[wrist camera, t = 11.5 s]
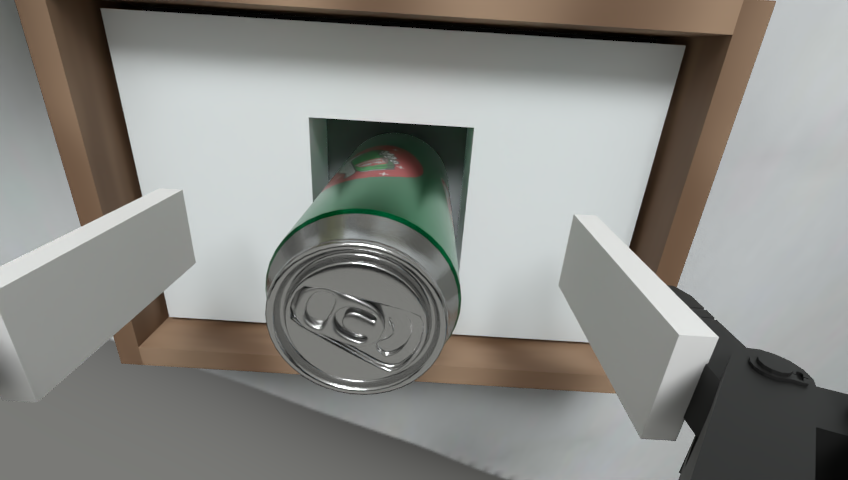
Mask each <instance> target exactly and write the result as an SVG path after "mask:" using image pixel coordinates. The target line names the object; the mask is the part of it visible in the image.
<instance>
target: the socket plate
mask: <svg viewBox="0 0 848 480" xmlns="http://www.w3.org/2000/svg"><path fill="white" fill-rule="evenodd" d="M100 9H101V14H102V18H103V23H104V27H105V32H106V36H107V41H108V45H109V50H110V54H111V58H112V63H113V67H114V72H115V76H116V81H117V85H118V90H119V94H120V99H121V103H122V108H123V112H124V117H125V121H126V126H127V130H128V135H129V139H130V143H131V148H132V152H133V157H134V161H135V166H136V170H137V175H138V179H139V184H140V188H141V193H142V197H143V196H145V195H147V194H149V193H151V192H153V191H155V190H157V189H159V188H164V189H180V190H183V195H184V201H185V206H186V212H187V217H188V223H189V228H190V234H191V239H192V245H193V250H194V256H195V261H196V263H195V264H194V265H193V266H192V267H191V268H190V269H189V270H187V271H186V272H185V273H184V274H183V275H182V276H181V277H179V278H178V279H177V280H176V281H175V282H174V283H173V284H172V285H170V286H169V287H168V288H167V289H166V290H165V291H164V296H165V300H166V304H167V309H168V313H169V317H179V318H196V319H212V320H229V321H245V322H261V323H266V316H265V310H266V291H265V285H266V274H267V270H268V266H269V262H270V260H271V258H272V256H273V254H274V252H275V250H276V248H277V247H278V246H279V244H280V243H281V242H282V240H283V239H284V238H285V236H286V235H287V234H288V233H289V231H290V230H291V229H292V228H293V226H294V225H295V224H296V223H297V221H298V220H299V219H300V218H301V217H302V215H303V214H304V213H305V212H306V210H307V209H308V208H309V207H310V205H311V204H312V203H313V202H314V200H315V199H316V198H317V197H318V195H319V194H320V193H321V192H322V190H323V189H324V188H325V187H326V186H327V184H328V183H329V175H328V146H327V118H329V119H345V120H360V121H376V122H392V123H408V124H424V125H440V126H456V127H468V128H467V139H466V149H465V159H464V169H463V179H462V190H461V200H460V210H459V220H458V230H457V240H456V253H457V261H458V270H459V279H460V288H461V308H460V314H459V318H458V321H457V325H456V327H455V329H454V331H453V333H452V334H458V335H474V336H491V337H507V338H524V339H540V340H556V341H573V342H588V340H587V338H586V336H585V334H584V332H583V330H582V329H581V327H580V325H579V323H578V321H577V319H576V317H575V316H574V314H573V312H572V310H571V308H570V306H569V304H568V302H567V301H566V299H565V297H564V295H563V293H562V291H561V289H560V288H559V286H558V285H559V280H560V275H561V271H562V266H563V261H564V257H565V252H566V248H567V243H568V238H569V234H570V229H571V224H572V220H573V215H574V214H581V215H596V216H598V217H599V218H600V219H601V220H602V221H603V222H604V223H605V224H606V225H607V226H608V227H609V228H610V229H611V230H612V231H613V232H614V233H615V234H616V235H617V236H618V237H619V238H620V239H621V240H622V241H623V242H624V243H625V244H626V245H627V246H628V247H629V246H630V242H631V239H632V235H633V231H634V228H635V224H636V221H637V217H638V214H639V210H640V207H641V203H642V200H643V196H644V193H645V189H646V185H647V182H648V178H649V175H650V171H651V168H652V164H653V161H654V157H655V154H656V150H657V147H658V143H659V139H660V136H661V132H662V129H663V125H664V122H665V118H666V115H667V111H668V108H669V104H670V101H671V97H672V93H673V90H674V86H675V83H676V79H677V76H678V72H679V69H680V65H681V62H682V58H683V55H684V51H685V47H686V46H685V45H670V44H654V43H638V42H623V41H607V40H592V39H576V38H560V37H545V36H529V35H514V34H498V33H482V32H467V31H451V30H435V29H420V28H404V27H389V26H373V25H357V24H342V23H326V22H311V21H295V20H279V19H264V18H248V17H232V16H217V15H201V14H186V13H170V12H154V11H139V10H123V9H107V8H100Z"/></svg>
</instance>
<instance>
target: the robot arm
mask: <svg viewBox="0 0 848 480" xmlns="http://www.w3.org/2000/svg"><path fill="white" fill-rule="evenodd" d="M195 263H196V261H195V256H194V250H193V245H192V239H191V234H190V228H189V223H188V217H187V212H186V206H185V201H184V195H183V190H180V189H164V188H159V189H157V190H155V191H153V192H151V193H149V194H147V195H145V196H143V197H141V198H139V199H137V200H135V201H133V202H131V203H129V204H126V205H124V206H122V207H120V208H118V209H116V210H114V211H112V212H110V213H108V214H106V215H104V216H102V217H100V218H98V219H96V220H94V221H92V222H90V223H88V224H86V225H84V226H82V227H80V228H78V229H76V230H74V231H71V232H69V233H67V234H65V235H63V236H61V237H59V238H57V239H55V240H53V241H51V242H49V243H47V244H45V245H43V246H41V247H39V248H37V249H35V250H33V251H31V252H29V253H27V254H25V255H23V256H21V257H18V258H16V259H14V260H12V261H10V262H8V263H6V264H4V265H2V266H0V397H1V399H2V400H6V401H22V402H39V401H40V400H41V399H42V398H43V397H44V396H45V395H46V394H47V393H49V392H50V391H51V390H52V389H53V388H54V387H55V386H57V385H58V384H59V383H60V382H61V381H62V380H63V379H65V378H66V377H67V376H68V375H69V374H70V373H71V372H73V371H74V370H75V369H76V368H77V367H78V366H79V365H80V364H82V363H83V362H84V361H85V360H86V359H87V358H89V356H91V355H92V354H93V353H94V352H95V351H96V350H97V349H98V348H100V347H101V346H102V345H103V344H104V343H105V342H107V341H108V340H109V339H110V338H111V337H112V336H114V335H115V334H116V333H117V332H118V331H119V330H120V329H121V328H123V327H124V326H125V325H126V324H127V323H128V322H129V321H131V320H132V319H133V318H134V317H135V316H136V315H137V314H139V313H140V312H141V311H142V310H143V309H144V308H145V307H147V306H148V305H149V304H150V303H151V302H152V301H153V300H154V299H156V298H157V297H158V296H159V295H160V294H161V293H162V292H164V291H165V290H166V289H167V288H168V287H169V286H170V285H172V284H173V283H174V282H175V281H176V280H177V279H178V278H179V277H181V276H182V275H183V274H184V273H185V272H186V271H187V270H189V269H190V268H191V267H192V266H193V265H194V264H195ZM558 286H559V288H560V289H561V291H562V293H563V295H564V297H565V299H566V301H567V302H568V304H569V306H570V308H571V310H572V312H573V314H574V316H575V317H576V319H577V321H578V323H579V325H580V327H581V329H582V330H583V332H584V334H585V336H586V338H587V340H588V342H589V343H590V345H591V347H592V349H593V351H594V353H595V355H596V356H597V358H598V360H599V362H600V364H601V366H602V368H603V369H604V371H605V373H606V375H607V377H608V379H609V381H610V382H611V384H612V386H613V388H614V390H615V392H616V394H617V396H618V397H619V399H620V401H621V403H622V405H623V407H624V409H625V410H626V412H627V414H628V416H629V418H630V420H631V422H632V423H633V425H634V427H635V429H636V431H637V433H638V435H639V436H640V438H641V439H653V440H670V441H676V439H677V437H678V434H679V432H680V429H681V427H682V425H683V422H684V420H685V421H686V422H687V423H688V425H689V426H690V428H691V429H692V431H693V432H694V434H695V437H694V440H693V442H692V444H691V447H690V449H689V451H688V453H687V456H686V458H685V460H684V462H683V465H682V467H681V469H680V471H679V473H681V474H680V477H679V480H848V394H844V393H840V392H836V391H832V390H828V389H824V388H820V387H816V385H815V382H814V380H813V379H812V378H811V377H810V376H809V375H808V374H807V373H806V372H805V371H804V370H803V369H801V368H800V367H798V366H797V365H795V364H794V363H792V362H791V361H789V360H786V359H784V358H782V357H780V356H778V355H775V354H772V353H769V352H766V351H763V350H759V349H751V348H746V347H745V346H744V345H743V344H742V343H741V342H740V341H739V340H737V339H736V338H735V337H734V336H733V335H732V334H731V333H730V332H729V331H728V330H727V329H726V328H725V327H724V326H723V325H722V324H720V323H719V322H718V321H717V320H714V317H713V316H712V315H711V314H710V313H709V312H708V311H707V310H704V308H703V307H702V306H701V305H700V304H699V303H698V302H697V301H696V300H695V299H694V298H693V297H692V296H690V295H689V294H687V293H685V292H683V291H682V290H680V289H678V288H676V287H675V286H671V285H666V284H665V283H664V282H663V281H662V280H661V279H660V278H659V277H658V276H657V275H656V274H655V273H654V272H653V271H652V270H651V269H650V268H649V267H648V266H647V265H646V264H645V263H644V262H643V261H642V260H641V259H640V258H639V257H638V256H637V255H636V254H635V253H634V252H633V251H632V250H631V249H630V248H629V247H628V246H627V245H626V244H625V243H624V242H623V241H622V240H621V239H620V238H619V237H618V236H617V235H616V234H615V233H614V232H613V231H612V230H611V229H610V228H609V227H608V226H607V225H606V224H605V223H604V222H603V221H602V220H601V219H600V218H599V217H598V216H596V215H581V214H574V215H573V220H572V224H571V229H570V234H569V238H568V243H567V248H566V252H565V257H564V261H563V266H562V271H561V275H560V280H559V285H558Z"/></svg>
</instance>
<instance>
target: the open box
mask: <svg viewBox="0 0 848 480" xmlns="http://www.w3.org/2000/svg"><path fill="white" fill-rule="evenodd" d="M15 3H16V7H17V10H18V14H19V17H20V20H21V24H22V27H23V31H24V34H25V37H26V41H27V44H28V48H29V51H30V54H31V58H32V61H33V65H34V68H35V71H36V75H37V78H38V82H39V85H40V88H41V92H42V95H43V99H44V102H45V105H46V109H47V112H48V116H49V119H50V122H51V126H52V129H53V133H54V136H55V139H56V143H57V146H58V150H59V153H60V156H61V160H62V163H63V167H64V170H65V173H66V177H67V180H68V184H69V187H70V190H71V194H72V197H73V201H74V204H75V207H76V211H77V214H78V218H79V221H80V224H81V227H82V226H84V225H86V224H88V223H90V222H92V221H94V220H96V219H98V218H100V217H102V216H104V215H106V214H108V213H110V212H112V211H114V210H116V209H118V208H120V207H122V206H124V205H126V204H129V203H131V202H133V201H135V200H137V199H139V198H141V197H142V193H141V188H140V184H139V179H138V175H137V170H136V166H135V161H134V157H133V152H132V148H131V143H130V139H129V135H128V130H127V126H126V121H125V117H124V112H123V108H122V103H121V99H120V94H119V90H118V85H117V81H116V76H115V72H114V67H113V63H112V58H111V54H110V50H109V45H108V41H107V36H106V32H105V27H104V23H103V18H102V14H101V9H100V8H107V9H123V10H139V11H143V7H157V8H172V9H188V10H204V11H219V12H235V13H250V14H266V15H282V16H297V17H313V18H329V19H344V20H360V21H375V22H391V23H407V24H422V25H438V26H453V27H469V28H485V29H500V30H516V31H531V32H547V33H563V34H578V35H594V36H609V37H625V38H641V39H656V40H657V41H656V44H670V45H685V46H686V47H685V51H684V55H683V58H682V62H681V65H680V69H679V72H678V76H677V79H676V83H675V86H674V90H673V93H672V97H671V101H670V104H669V108H668V111H667V115H666V118H665V122H664V125H663V129H662V132H661V136H660V139H659V143H658V147H657V150H656V154H655V157H654V161H653V164H652V168H651V171H650V175H649V178H648V182H647V185H646V189H645V193H644V196H643V200H642V203H641V207H640V210H639V214H638V217H637V221H636V224H635V228H634V231H633V235H632V239H631V242H630V246H629V248H630V249H631V250H632V251H633V252H634V253H635V254H636V255H637V256H638V257H639V258H640V259H641V260H642V261H643V262H644V263H645V264H646V265H647V266H648V267H649V268H650V269H651V270H652V271H653V272H654V273H655V274H656V275H657V276H658V277H659V278H660V279H661V280H662V281H663V282H664V283H665V284H666V285H671V286H675V287H677V285H678V282H679V279H680V276H681V273H682V270H683V267H684V264H685V262H686V259H687V256H688V253H689V250H690V247H691V244H692V241H693V239H694V236H695V233H696V230H697V227H698V224H699V221H700V219H701V216H702V213H703V210H704V207H705V204H706V201H707V198H708V196H709V193H710V190H711V187H712V184H713V181H714V178H715V175H716V173H717V170H718V167H719V164H720V161H721V158H722V155H723V152H724V150H725V147H726V144H727V141H728V138H729V135H730V132H731V129H732V127H733V124H734V121H735V118H736V115H737V112H738V109H739V106H740V104H741V101H742V98H743V95H744V92H745V89H746V86H747V83H748V81H749V78H750V75H751V72H752V69H753V66H754V63H755V61H756V58H757V55H758V52H759V49H760V46H761V43H762V40H763V38H764V35H765V32H766V29H767V26H768V23H769V20H770V17H771V15H772V12H773V9H774V6H775V3H776V1H769V0H15ZM114 340H115V343H116V347H117V350H118V353H119V357H120V360H121V363H122V364H138V365H154V366H171V367H188V368H204V369H220V370H237V371H253V372H270V373H286V374H299V373H298V372H296V371H295V370H294V369H293V368H292V367H291V366H290V365H289V364H288V363H287V362H286V361H285V360H284V359H283V358H282V357H281V355H280V354H279V352H278V351H277V350H276V348H275V346H274V344H273V342H272V340H271V338H270V335H269V332H268V329H267V325H266V323H261V322H245V321H229V320H212V319H196V318H179V317H169V313H168V309H167V304H166V300H165V296H164V292H162V293H161V294H160V295H159V296H158V297H157V298H156V299H154V300H153V301H152V302H151V303H150V304H149V305H148V306H147V307H145V308H144V309H143V310H142V311H141V312H140V313H139V314H137V315H136V316H135V317H134V318H133V319H132V320H131V321H129V322H128V323H127V324H126V325H125V326H124V327H123V328H121V329H120V330H119V331H118V332H117V333H116V334H115V335H114ZM415 381H418V382H435V383H451V384H468V385H484V386H501V387H517V388H534V389H550V390H567V391H583V392H600V393H616V392H615V390H614V388H613V386H612V384H611V382H610V381H609V379H608V377H607V375H606V373H605V371H604V369H603V368H602V366H601V364H600V362H599V360H598V358H597V356H596V355H595V353H594V351H593V349H592V347H591V345H590V343H589V342H573V341H556V340H540V339H524V338H507V337H491V336H474V335H458V334H452V335H451V337H450V338H449V339H448V341H447V342H446V343H445V345H444V347H443V349H442V351H441V353H440V355H439V357H438V358H437V360H436V361H435V362H434V364H433V365H432V366H431V367H430V368H429V369H428V370H427V371H426V372H425V373H424V374H423V375H422V376H421V377H419V378H418V379H416V380H415Z"/></svg>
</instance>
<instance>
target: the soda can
mask: <svg viewBox="0 0 848 480" xmlns="http://www.w3.org/2000/svg"><path fill="white" fill-rule="evenodd" d="M265 291H266V310H265V316H266V325H267V329H268V332H269V335H270V338H271V340H272V342H273V344H274V346H275V348H276V350H277V351H278V352H279V354H280V355H281V357H282V358H283V359H284V360H285V361H286V362H287V363H288V364H289V365H290V366H291V367H292V368H293V369H294V370H295V371H296V372H298V373H299V374H300V375H302V376H303V377H305V378H306V379H308V380H310V381H312V382H313V383H315V384H318V385H320V386H322V387H325V388H328V389H331V390H334V391H338V392H343V393H348V394H361V395H367V394H379V393H384V392H389V391H392V390H395V389H398V388H401V387H403V386H405V385H408V384H410V383H412V382H413V381H415V380H416V379H418V378H419V377H421V376H422V375H423V374H424V373H425V372H426V371H427V370H428V369H429V368H430V367H431V366H432V365H433V364H434V362H435V361H436V360H437V358H438V357H439V355H440V353H441V351H442V349H443V347H444V345H445V343H446V342H447V341H448V339H449V338H450V337H451V335H452V333H453V331H454V329H455V327H456V325H457V321H458V318H459V314H460V308H461V288H460V279H459V270H458V261H457V253H456V244H455V235H454V227H453V218H452V209H451V201H450V192H449V183H448V176H447V172H446V168H445V166H444V164H443V161H442V160H441V158H440V157H439V155H438V154H437V153H436V151H435V150H434V149H433V148H432V147H431V146H429V145H428V144H427V143H426V142H424V141H422V140H421V139H419V138H417V137H414V136H412V135H408V134H404V133H384V134H380V135H377V136H374V137H372V138H370V139H368V140H366V141H365V142H363V143H362V144H361V145H360V146H359V147H358V148H357V149H356V150H355V151H354V152H353V153H352V155H351V156H350V157H349V158H348V159H347V161H346V162H345V163H344V164H343V166H342V167H341V168H340V169H339V171H338V172H337V173H336V174H335V176H334V177H333V178H332V179H331V181H330V182H329V183H328V184H327V186H326V187H325V188H324V189H323V190H322V192H321V193H320V194H319V195H318V197H317V198H316V199H315V200H314V202H313V203H312V204H311V205H310V207H309V208H308V209H307V210H306V212H305V213H304V214H303V215H302V217H301V218H300V219H299V220H298V221H297V223H296V224H295V225H294V226H293V228H292V229H291V230H290V231H289V233H288V234H287V235H286V236H285V238H284V239H283V240H282V242H281V243H280V244H279V246H278V247H277V248H276V250H275V252H274V254H273V256H272V258H271V260H270V262H269V266H268V270H267V274H266V285H265Z"/></svg>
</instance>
